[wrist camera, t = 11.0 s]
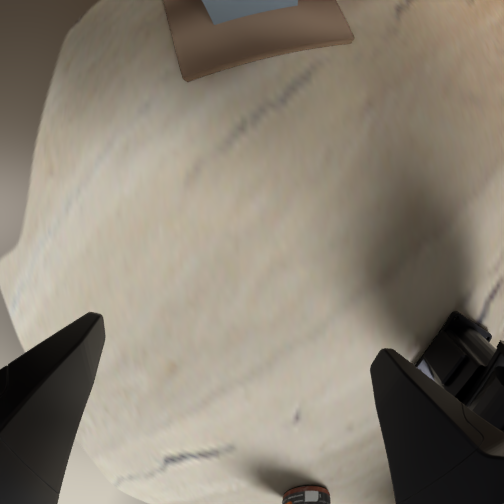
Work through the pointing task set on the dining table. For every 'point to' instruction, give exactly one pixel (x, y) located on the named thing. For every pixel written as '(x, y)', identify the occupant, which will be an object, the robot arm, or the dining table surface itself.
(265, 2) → the blue-grey carton
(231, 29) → the plate
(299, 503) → the supplement bottle
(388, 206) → the dining table surface
